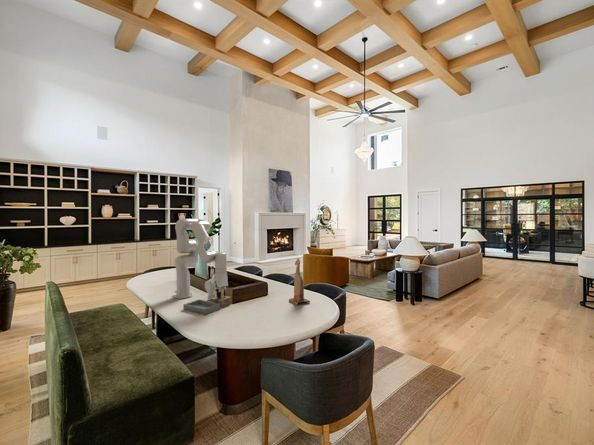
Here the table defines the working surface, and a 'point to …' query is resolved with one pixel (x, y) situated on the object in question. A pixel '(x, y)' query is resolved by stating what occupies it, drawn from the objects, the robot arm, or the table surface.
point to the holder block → (222, 301)
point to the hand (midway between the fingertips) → (221, 296)
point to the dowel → (221, 292)
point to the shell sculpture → (210, 288)
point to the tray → (201, 307)
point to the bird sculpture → (298, 287)
